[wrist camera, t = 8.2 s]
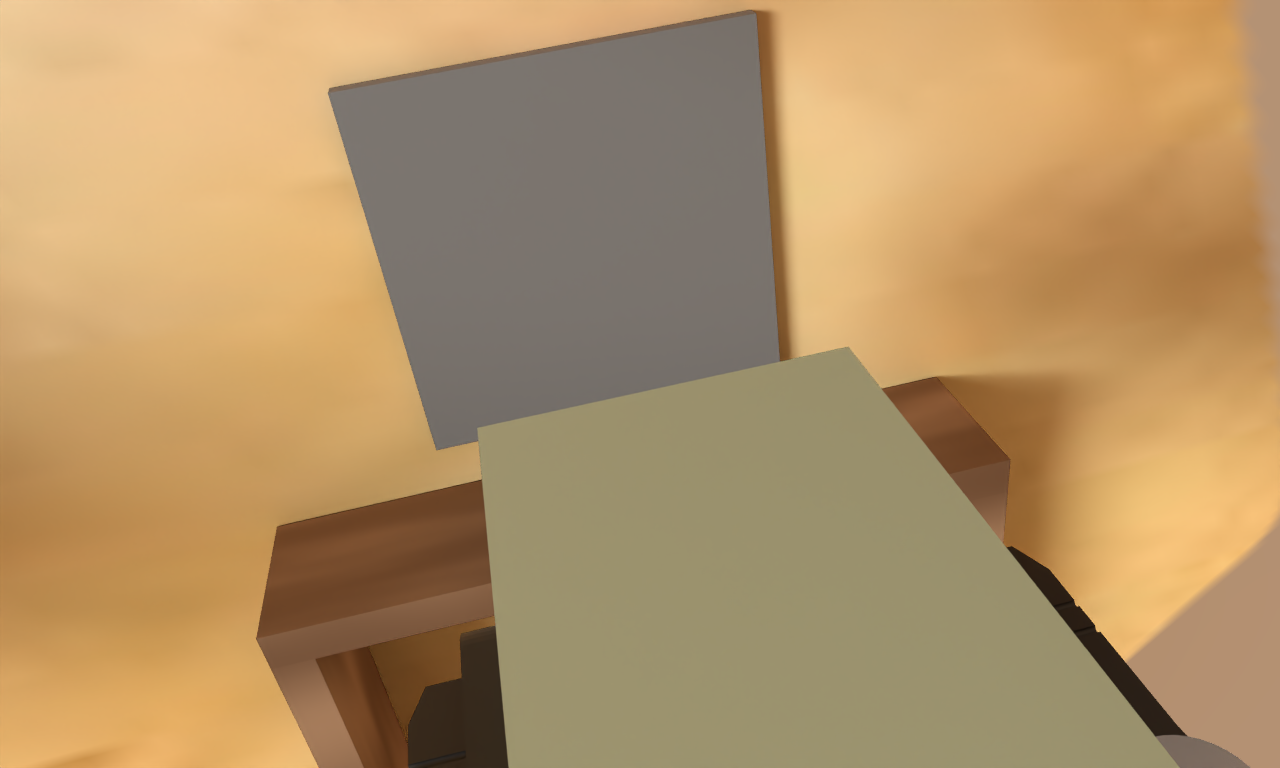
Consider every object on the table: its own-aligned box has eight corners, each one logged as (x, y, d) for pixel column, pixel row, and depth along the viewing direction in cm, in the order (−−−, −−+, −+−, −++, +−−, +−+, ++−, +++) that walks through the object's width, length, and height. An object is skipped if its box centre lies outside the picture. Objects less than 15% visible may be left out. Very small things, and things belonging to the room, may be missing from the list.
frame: (277, 526, 25) (256, 638, 22) (936, 377, 27) (1010, 459, 24) (415, 845, 33) (415, 965, 29) (925, 712, 34) (980, 811, 31)
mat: (329, 88, 20) (327, 93, 20) (750, 9, 21) (756, 13, 21) (435, 441, 25) (436, 450, 25) (775, 365, 26) (780, 373, 25)
